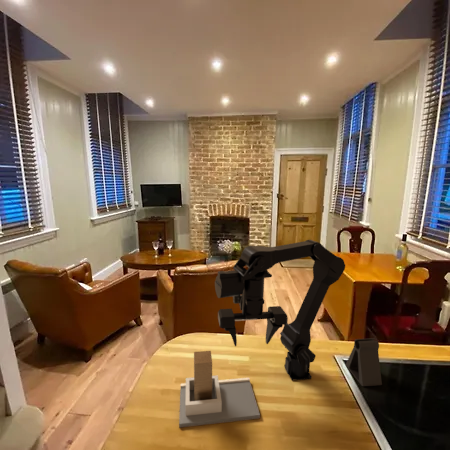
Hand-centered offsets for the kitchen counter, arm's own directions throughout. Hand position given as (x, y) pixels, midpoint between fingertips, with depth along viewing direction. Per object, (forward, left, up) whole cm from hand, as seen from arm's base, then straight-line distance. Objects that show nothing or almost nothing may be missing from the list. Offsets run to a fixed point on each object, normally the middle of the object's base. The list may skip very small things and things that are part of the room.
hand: (251, 344), depth 74 cm
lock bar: (+14, +4, -12) cm, 19 cm away
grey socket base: (+10, +5, -13) cm, 17 cm away
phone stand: (-36, +1, -13) cm, 38 cm away
